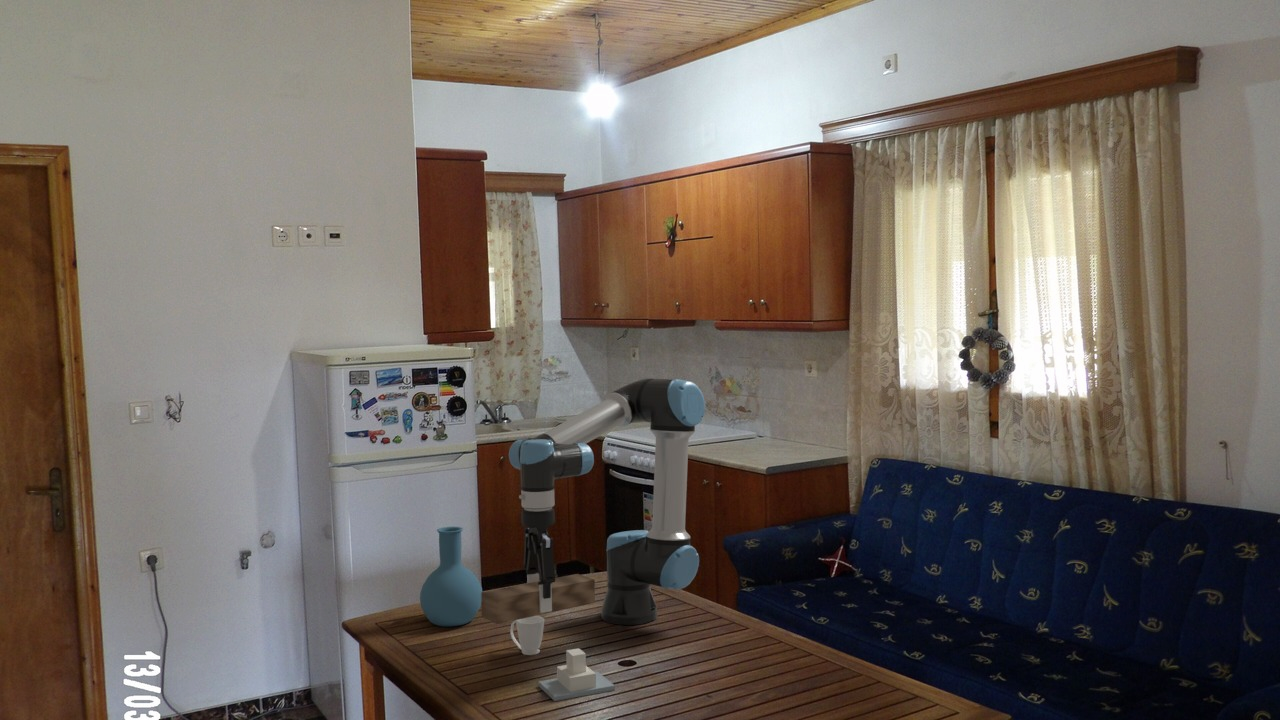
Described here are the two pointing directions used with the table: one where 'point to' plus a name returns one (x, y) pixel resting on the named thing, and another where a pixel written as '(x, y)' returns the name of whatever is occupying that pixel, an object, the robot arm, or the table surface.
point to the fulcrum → (575, 679)
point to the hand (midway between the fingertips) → (539, 606)
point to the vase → (450, 585)
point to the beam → (536, 598)
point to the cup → (528, 634)
